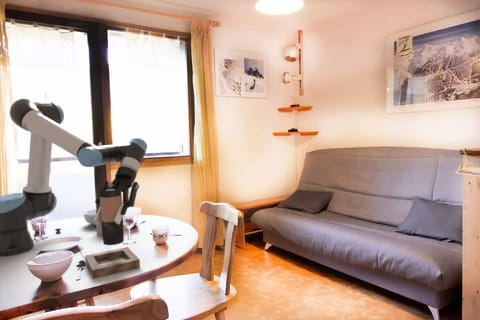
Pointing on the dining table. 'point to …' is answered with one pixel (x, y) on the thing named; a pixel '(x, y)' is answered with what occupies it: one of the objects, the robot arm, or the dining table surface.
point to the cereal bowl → (90, 216)
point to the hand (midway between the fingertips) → (106, 222)
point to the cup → (99, 228)
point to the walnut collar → (111, 262)
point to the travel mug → (111, 215)
